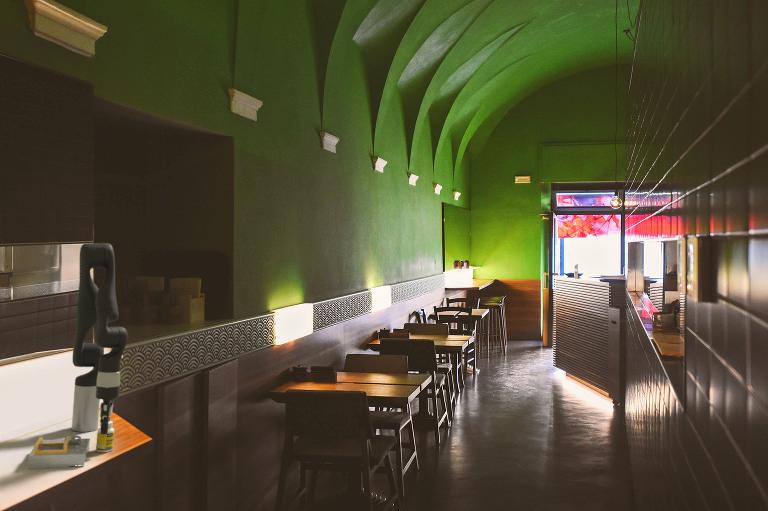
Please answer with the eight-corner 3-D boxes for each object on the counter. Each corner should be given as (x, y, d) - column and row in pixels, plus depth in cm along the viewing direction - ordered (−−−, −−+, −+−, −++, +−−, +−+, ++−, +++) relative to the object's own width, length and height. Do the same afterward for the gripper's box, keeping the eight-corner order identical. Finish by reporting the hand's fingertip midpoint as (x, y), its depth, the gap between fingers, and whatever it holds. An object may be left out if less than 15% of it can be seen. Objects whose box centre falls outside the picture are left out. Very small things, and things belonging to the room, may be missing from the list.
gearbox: (37, 451, 216) (38, 431, 216) (89, 450, 222) (90, 429, 222) (27, 468, 199) (29, 446, 199) (83, 466, 205) (85, 444, 205)
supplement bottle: (106, 453, 219) (108, 424, 219) (92, 451, 220) (94, 423, 220) (116, 449, 224) (118, 421, 225) (102, 447, 225) (104, 419, 226)
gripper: (98, 380, 228) (95, 426, 227) (94, 388, 214) (91, 436, 214) (121, 380, 230) (117, 425, 230) (118, 388, 217) (115, 436, 216)
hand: (104, 430), depth 222 cm, fingers open, 8 cm apart
